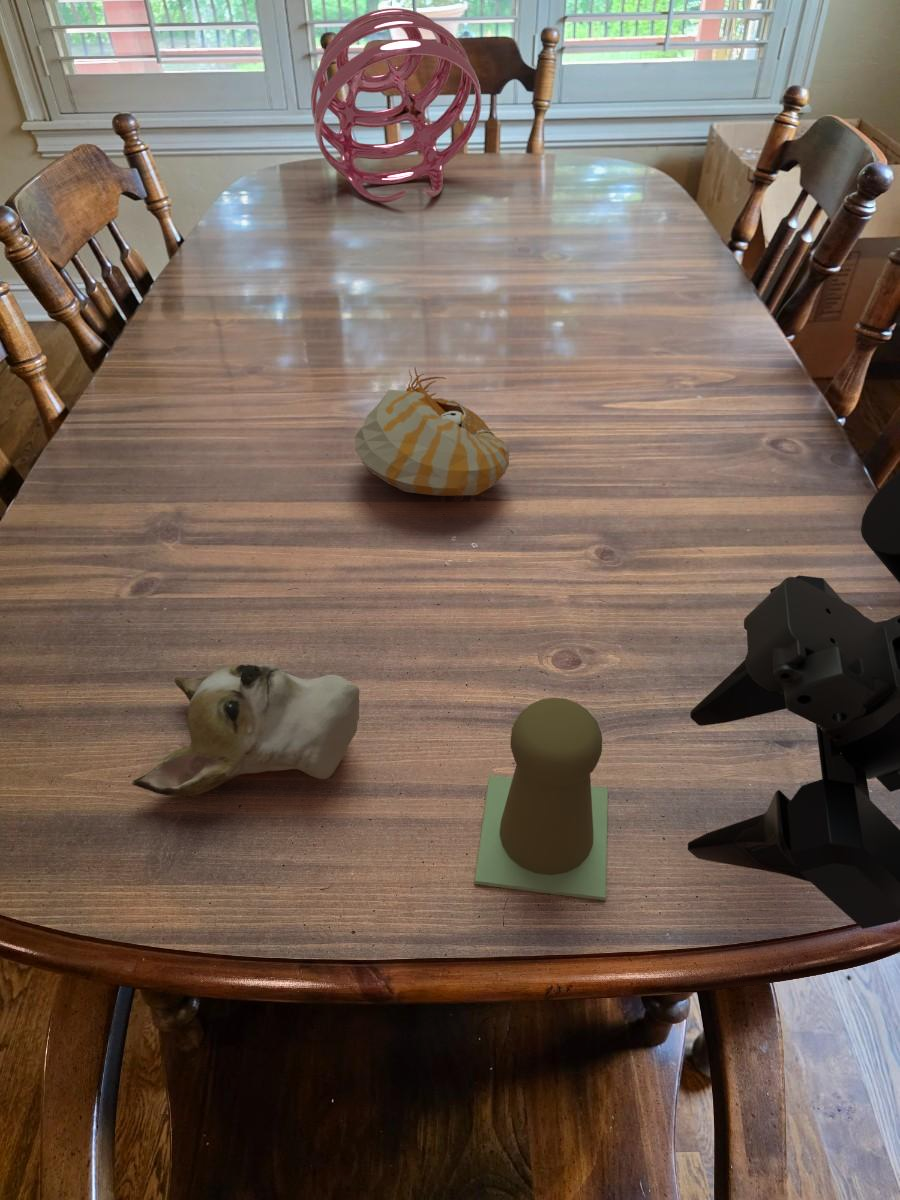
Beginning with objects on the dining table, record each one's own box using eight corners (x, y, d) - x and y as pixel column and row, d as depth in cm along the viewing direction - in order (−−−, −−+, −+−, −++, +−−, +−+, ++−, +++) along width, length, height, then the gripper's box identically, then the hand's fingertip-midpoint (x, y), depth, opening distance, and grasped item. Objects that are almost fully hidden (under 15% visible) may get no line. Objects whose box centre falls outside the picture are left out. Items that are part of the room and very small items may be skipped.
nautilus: (372, 412, 97) (506, 421, 97) (343, 518, 80) (505, 529, 80) (371, 344, 92) (512, 353, 92) (339, 442, 75) (512, 453, 75)
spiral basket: (494, 86, 125) (445, -60, 131) (310, 148, 127) (271, 1, 133) (506, 208, 152) (466, 82, 158) (355, 257, 155) (321, 131, 160)
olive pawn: (502, 876, 53) (507, 767, 46) (496, 794, 58) (500, 682, 50) (600, 873, 53) (621, 764, 46) (587, 791, 58) (604, 680, 50)
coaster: (607, 791, 58) (608, 788, 58) (605, 901, 52) (605, 897, 52) (489, 778, 59) (489, 774, 59) (474, 884, 53) (474, 881, 53)
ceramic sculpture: (340, 736, 51) (97, 734, 52) (361, 821, 57) (142, 818, 58) (366, 613, 59) (154, 615, 60) (382, 699, 65) (188, 699, 66)
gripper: (859, 449, 44) (615, 586, 53) (926, 733, 30) (583, 850, 40) (968, 586, 48) (723, 691, 57) (1071, 892, 34) (727, 964, 43)
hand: (693, 780), depth 49 cm, fingers open, 9 cm apart
